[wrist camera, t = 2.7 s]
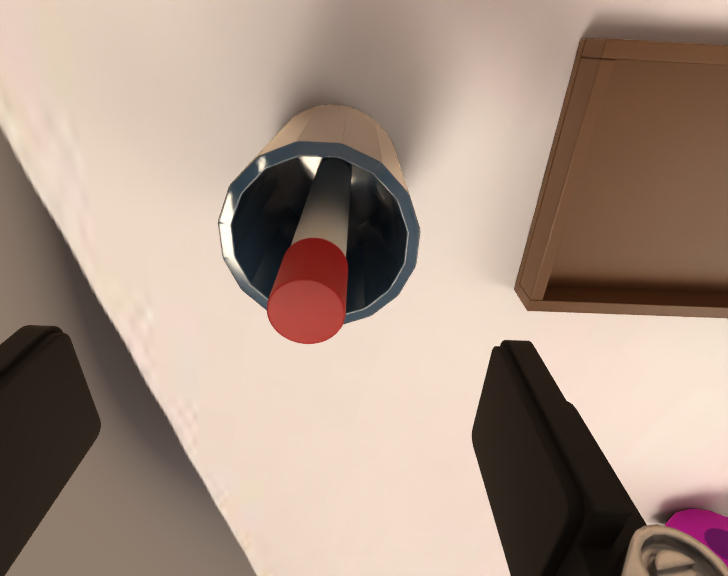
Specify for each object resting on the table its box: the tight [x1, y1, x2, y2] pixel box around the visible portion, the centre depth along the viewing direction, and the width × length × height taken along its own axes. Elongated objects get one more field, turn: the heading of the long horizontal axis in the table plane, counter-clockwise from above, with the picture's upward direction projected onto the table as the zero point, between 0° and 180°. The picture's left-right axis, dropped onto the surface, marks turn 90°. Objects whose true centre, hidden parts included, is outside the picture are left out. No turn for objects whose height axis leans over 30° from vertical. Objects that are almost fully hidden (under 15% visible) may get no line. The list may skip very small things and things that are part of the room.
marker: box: [267, 158, 351, 344], centre depth 18 cm, size 2×2×14 cm
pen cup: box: [218, 104, 420, 324], centre depth 20 cm, size 7×7×10 cm
